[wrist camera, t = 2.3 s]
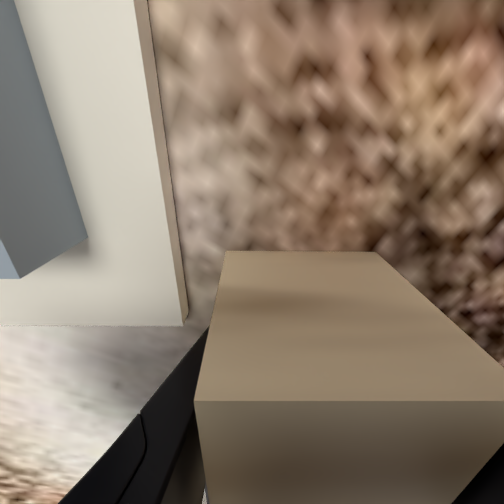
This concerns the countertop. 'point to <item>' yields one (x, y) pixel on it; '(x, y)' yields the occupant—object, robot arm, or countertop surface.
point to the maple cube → (339, 386)
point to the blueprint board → (84, 169)
